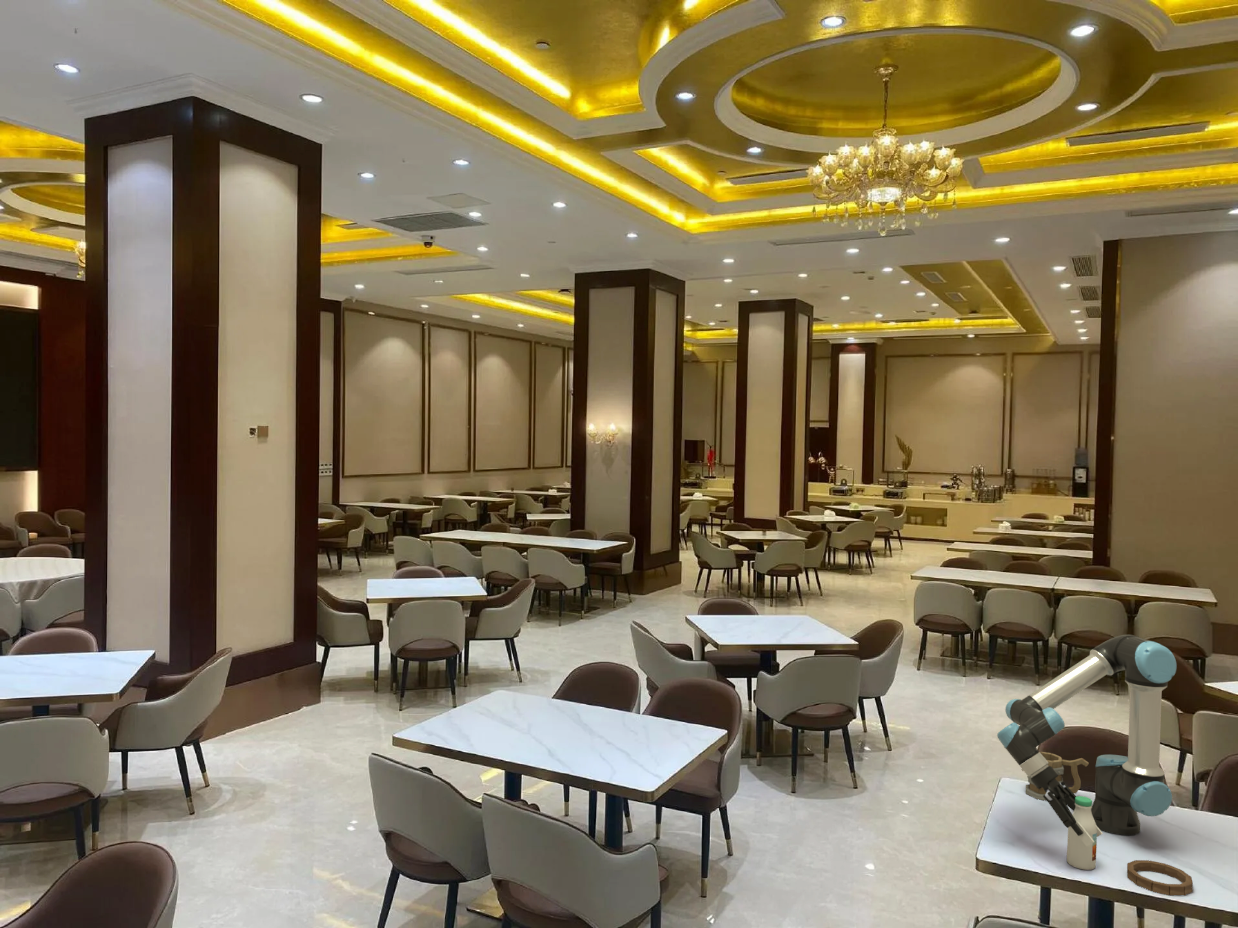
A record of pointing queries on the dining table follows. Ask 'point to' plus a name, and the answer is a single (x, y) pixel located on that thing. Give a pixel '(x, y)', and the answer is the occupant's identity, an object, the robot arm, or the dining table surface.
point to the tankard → (1057, 765)
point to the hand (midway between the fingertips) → (1094, 839)
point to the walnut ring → (1159, 887)
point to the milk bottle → (1075, 847)
